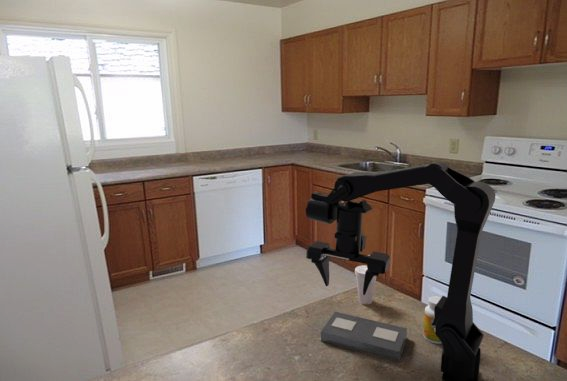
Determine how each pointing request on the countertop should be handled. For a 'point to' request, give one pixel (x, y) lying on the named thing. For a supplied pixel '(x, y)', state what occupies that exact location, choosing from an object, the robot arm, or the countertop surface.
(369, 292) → the smoothie
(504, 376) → the countertop surface
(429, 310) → the supplement bottle
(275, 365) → the countertop surface
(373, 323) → the label box
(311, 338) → the countertop surface
